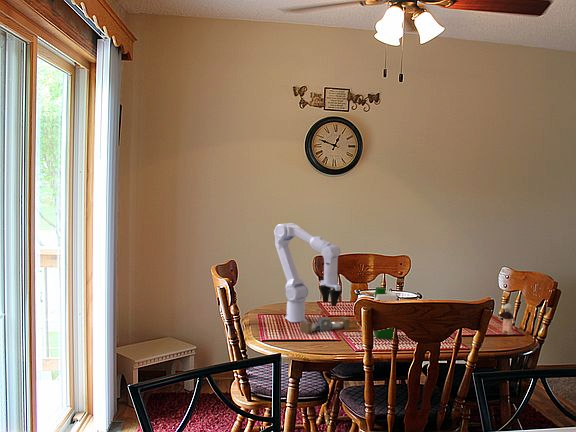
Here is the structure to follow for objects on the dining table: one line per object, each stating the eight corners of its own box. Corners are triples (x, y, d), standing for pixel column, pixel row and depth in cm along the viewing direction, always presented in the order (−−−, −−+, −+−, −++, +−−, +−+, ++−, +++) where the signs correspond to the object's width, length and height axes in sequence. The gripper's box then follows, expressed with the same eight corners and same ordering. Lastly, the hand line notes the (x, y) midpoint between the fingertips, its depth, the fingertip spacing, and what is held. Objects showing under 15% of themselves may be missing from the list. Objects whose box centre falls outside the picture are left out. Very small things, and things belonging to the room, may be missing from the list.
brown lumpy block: (313, 328, 247) (313, 318, 247) (321, 331, 243) (321, 321, 243) (300, 331, 242) (300, 321, 242) (307, 334, 238) (308, 323, 238)
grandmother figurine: (517, 334, 246) (518, 304, 245) (513, 335, 243) (514, 305, 242) (499, 330, 251) (500, 301, 251) (495, 331, 249) (496, 302, 248)
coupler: (326, 328, 249) (326, 316, 248) (330, 330, 245) (330, 319, 244) (317, 329, 247) (317, 317, 247) (321, 331, 243) (321, 319, 243)
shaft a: (332, 330, 245) (333, 320, 244) (328, 327, 249) (328, 317, 249) (349, 329, 247) (349, 319, 247) (344, 326, 252) (344, 316, 252)
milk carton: (371, 333, 242) (373, 285, 240) (393, 333, 242) (394, 286, 241) (374, 339, 233) (376, 290, 232) (397, 339, 233) (399, 290, 232)
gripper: (314, 270, 255) (313, 301, 255) (330, 276, 241) (329, 308, 242) (328, 270, 257) (328, 300, 258) (345, 275, 244) (344, 307, 245)
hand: (329, 304), depth 251 cm, fingers open, 7 cm apart
